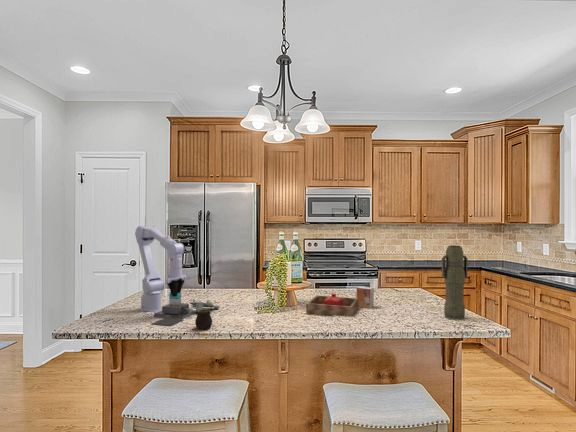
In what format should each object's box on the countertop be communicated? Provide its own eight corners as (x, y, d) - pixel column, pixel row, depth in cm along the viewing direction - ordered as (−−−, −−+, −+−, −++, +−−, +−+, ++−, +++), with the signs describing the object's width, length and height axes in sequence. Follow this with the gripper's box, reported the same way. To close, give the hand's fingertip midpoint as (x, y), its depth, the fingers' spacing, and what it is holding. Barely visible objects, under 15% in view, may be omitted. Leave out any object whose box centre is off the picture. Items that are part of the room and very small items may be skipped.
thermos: (437, 317, 183) (437, 245, 184) (460, 316, 185) (460, 245, 186) (448, 322, 175) (448, 246, 175) (471, 321, 177) (471, 246, 177)
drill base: (154, 316, 183) (154, 313, 183) (169, 310, 195) (169, 307, 195) (182, 319, 178) (182, 316, 178) (196, 313, 190) (196, 310, 190)
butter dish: (328, 306, 208) (328, 290, 208) (348, 308, 202) (348, 292, 202) (318, 310, 198) (318, 294, 198) (339, 313, 192) (339, 296, 192)
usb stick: (168, 306, 186) (168, 292, 187) (171, 305, 189) (171, 291, 189) (178, 307, 185) (178, 293, 185) (181, 306, 187) (181, 292, 187)
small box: (356, 307, 205) (356, 287, 205) (359, 305, 210) (359, 286, 210) (370, 309, 201) (370, 289, 201) (373, 306, 206) (373, 287, 206)
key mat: (151, 324, 170) (151, 323, 170) (165, 319, 179) (165, 318, 179) (170, 326, 166) (170, 325, 166) (183, 321, 176) (183, 319, 176)
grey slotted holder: (162, 312, 184) (162, 306, 184) (173, 308, 192) (173, 302, 192) (190, 315, 179) (190, 309, 179) (201, 311, 187) (201, 305, 187)
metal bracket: (214, 299, 189) (185, 298, 190) (213, 310, 187) (183, 310, 188) (221, 304, 202) (193, 303, 203) (220, 315, 200) (192, 314, 201)
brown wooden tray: (306, 313, 190) (306, 303, 190) (316, 304, 211) (316, 295, 211) (351, 317, 183) (352, 307, 183) (358, 307, 203) (358, 298, 203)
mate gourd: (197, 326, 167) (197, 303, 167) (214, 326, 167) (214, 303, 167) (193, 331, 160) (193, 307, 160) (210, 331, 160) (210, 307, 160)
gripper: (173, 270, 179) (173, 299, 178) (191, 266, 192) (191, 293, 192) (161, 269, 181) (161, 298, 181) (179, 265, 195) (179, 292, 194)
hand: (175, 295), depth 187 cm, fingers closed on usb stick, 2 cm apart
